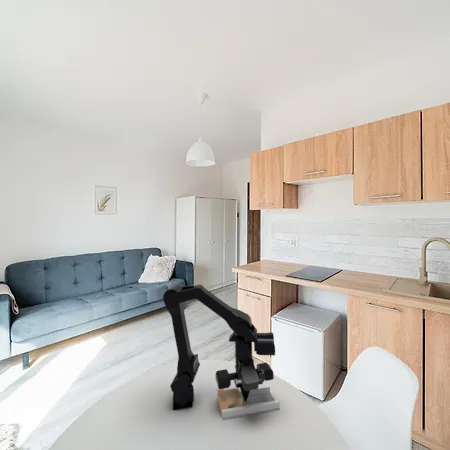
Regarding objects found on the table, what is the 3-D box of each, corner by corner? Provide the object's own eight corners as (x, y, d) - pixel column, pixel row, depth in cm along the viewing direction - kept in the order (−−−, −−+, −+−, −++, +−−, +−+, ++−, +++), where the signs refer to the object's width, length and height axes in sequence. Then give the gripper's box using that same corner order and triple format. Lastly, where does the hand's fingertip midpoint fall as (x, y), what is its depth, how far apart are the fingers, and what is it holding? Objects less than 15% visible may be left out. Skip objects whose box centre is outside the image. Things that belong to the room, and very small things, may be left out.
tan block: (227, 413, 76) (227, 400, 76) (223, 402, 81) (223, 390, 81) (242, 410, 77) (242, 398, 77) (238, 399, 82) (238, 387, 82)
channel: (222, 423, 73) (222, 407, 73) (216, 400, 83) (216, 386, 83) (280, 413, 77) (280, 397, 78) (268, 392, 87) (268, 378, 87)
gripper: (221, 372, 70) (223, 426, 70) (280, 362, 74) (282, 413, 74) (214, 353, 81) (215, 399, 81) (266, 345, 85) (267, 389, 85)
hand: (245, 400), depth 80 cm, fingers closed
